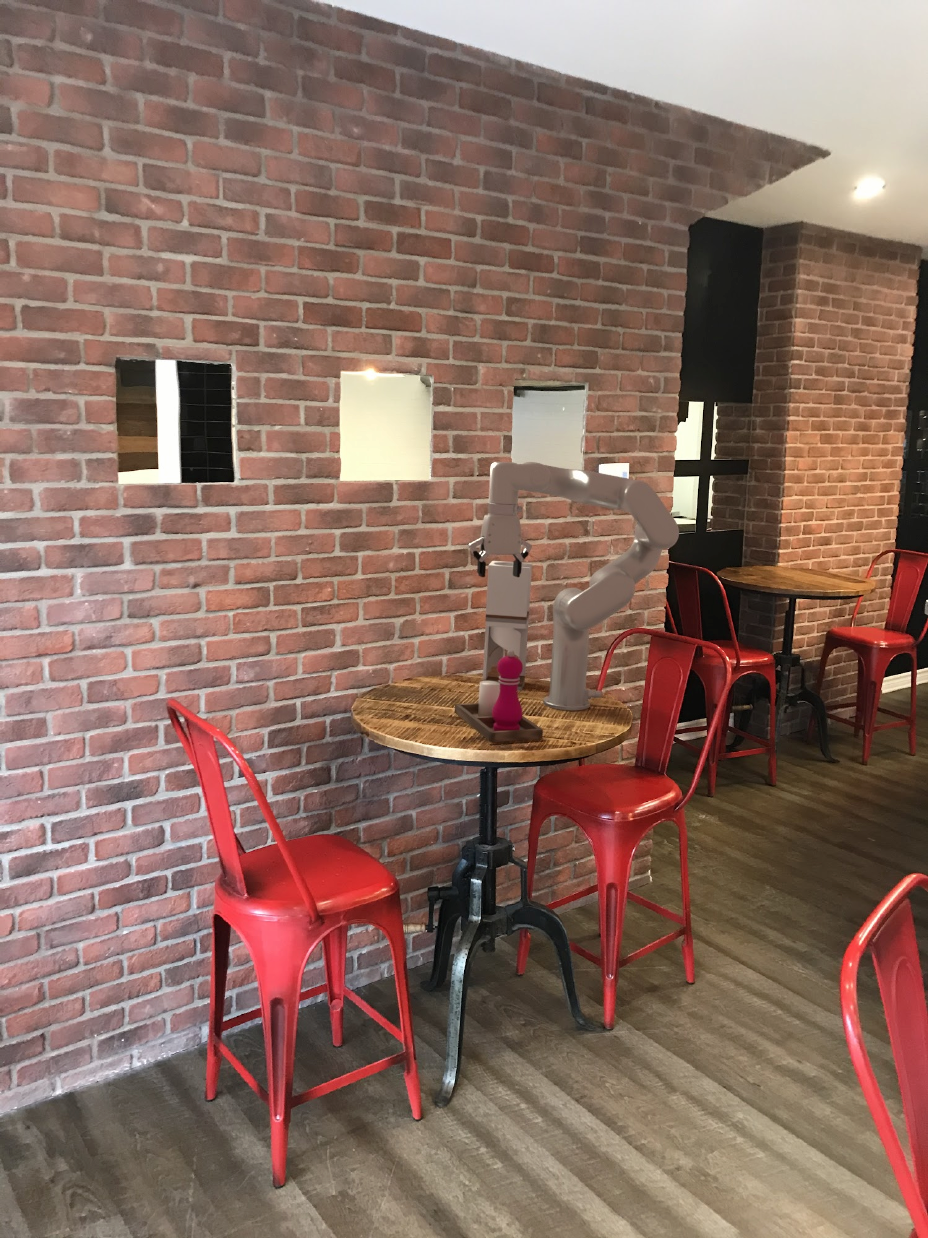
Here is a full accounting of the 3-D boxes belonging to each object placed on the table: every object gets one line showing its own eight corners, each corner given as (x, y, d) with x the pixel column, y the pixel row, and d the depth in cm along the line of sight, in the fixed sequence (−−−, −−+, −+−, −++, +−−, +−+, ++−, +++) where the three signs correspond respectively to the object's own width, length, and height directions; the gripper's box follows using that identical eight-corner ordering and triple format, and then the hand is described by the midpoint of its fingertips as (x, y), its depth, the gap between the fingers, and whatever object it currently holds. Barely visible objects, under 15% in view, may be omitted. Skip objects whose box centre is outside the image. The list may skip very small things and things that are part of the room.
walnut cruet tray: (502, 713, 253) (502, 701, 253) (542, 742, 230) (542, 729, 230) (454, 715, 249) (455, 704, 248) (490, 745, 226) (491, 732, 225)
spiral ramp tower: (481, 687, 278) (488, 565, 272) (486, 679, 289) (492, 560, 283) (521, 690, 277) (529, 567, 271) (524, 682, 287) (532, 563, 281)
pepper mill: (512, 738, 229) (516, 654, 225) (485, 732, 233) (489, 650, 229) (526, 731, 235) (531, 649, 231) (500, 725, 239) (505, 645, 235)
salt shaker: (493, 715, 248) (495, 680, 246) (500, 720, 243) (502, 685, 242) (474, 716, 246) (476, 681, 245) (482, 721, 242) (484, 686, 240)
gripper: (527, 510, 258) (523, 574, 262) (466, 508, 253) (462, 574, 256) (539, 512, 252) (535, 578, 255) (476, 510, 246) (472, 578, 249)
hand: (499, 576), depth 255 cm, fingers open, 9 cm apart
